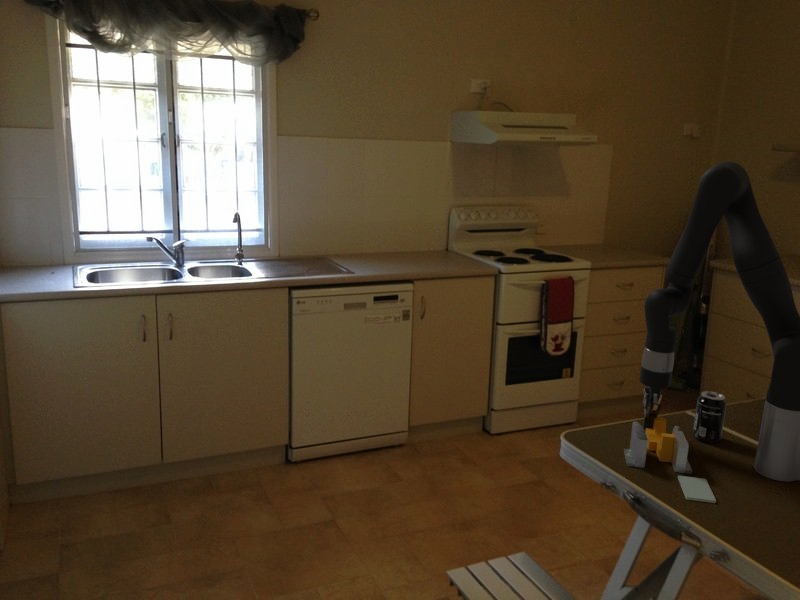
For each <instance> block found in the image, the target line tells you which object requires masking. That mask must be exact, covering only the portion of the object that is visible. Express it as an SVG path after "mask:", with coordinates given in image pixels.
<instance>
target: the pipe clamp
mask: <svg viewBox="0 0 800 600" xmlns="http://www.w3.org/2000/svg"><path fill="white" fill-rule="evenodd" d="M644 431H645V430H644ZM645 433H646V436H647V439H648V444H647V451H651V452H655V454H656V456H657V457H658V461H659V462H665V463H671V457H672V450H673V443H674V436H673V434H672V433H667V419H666V417H660V416H657V418H654V423H653V429H651V428H646V431H645Z"/></svg>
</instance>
